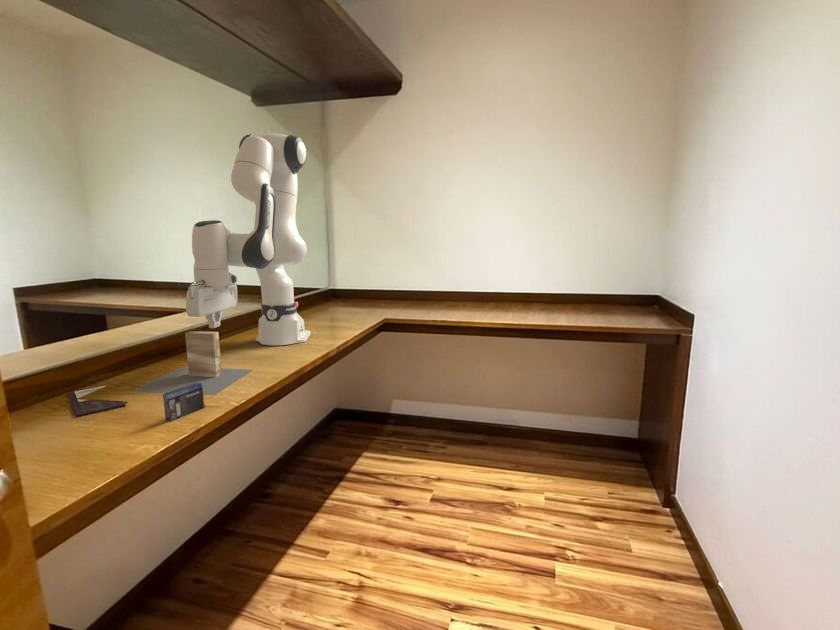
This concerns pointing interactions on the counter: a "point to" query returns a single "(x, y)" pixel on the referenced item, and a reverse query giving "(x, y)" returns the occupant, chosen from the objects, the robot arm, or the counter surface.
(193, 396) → the mini dv tape
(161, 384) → the mat
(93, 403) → the chocolate bar
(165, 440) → the counter surface
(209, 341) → the wooden block
